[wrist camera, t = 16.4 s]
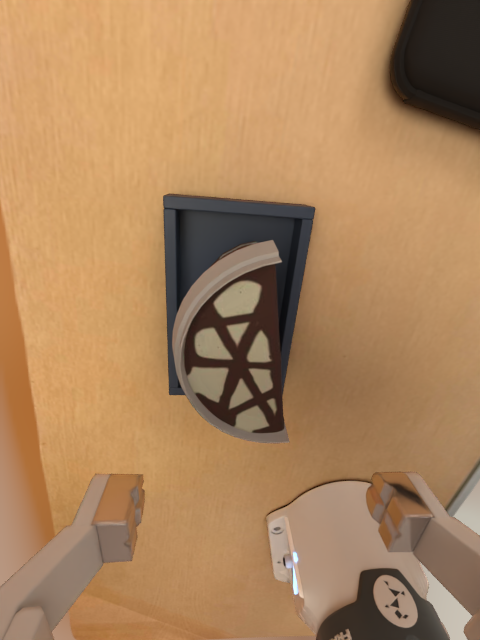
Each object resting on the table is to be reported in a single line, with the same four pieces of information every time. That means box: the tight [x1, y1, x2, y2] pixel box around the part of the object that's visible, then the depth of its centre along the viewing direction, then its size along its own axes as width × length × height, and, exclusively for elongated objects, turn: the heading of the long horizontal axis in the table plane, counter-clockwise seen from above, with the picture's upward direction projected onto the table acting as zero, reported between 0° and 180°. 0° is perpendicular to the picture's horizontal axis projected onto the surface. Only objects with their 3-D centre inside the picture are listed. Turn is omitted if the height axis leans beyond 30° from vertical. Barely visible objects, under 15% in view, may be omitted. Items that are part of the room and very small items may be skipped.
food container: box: [172, 240, 289, 443], centre depth 20 cm, size 12×6×10 cm, turn 5°
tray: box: [163, 194, 315, 395], centre depth 24 cm, size 16×10×2 cm, turn 175°
